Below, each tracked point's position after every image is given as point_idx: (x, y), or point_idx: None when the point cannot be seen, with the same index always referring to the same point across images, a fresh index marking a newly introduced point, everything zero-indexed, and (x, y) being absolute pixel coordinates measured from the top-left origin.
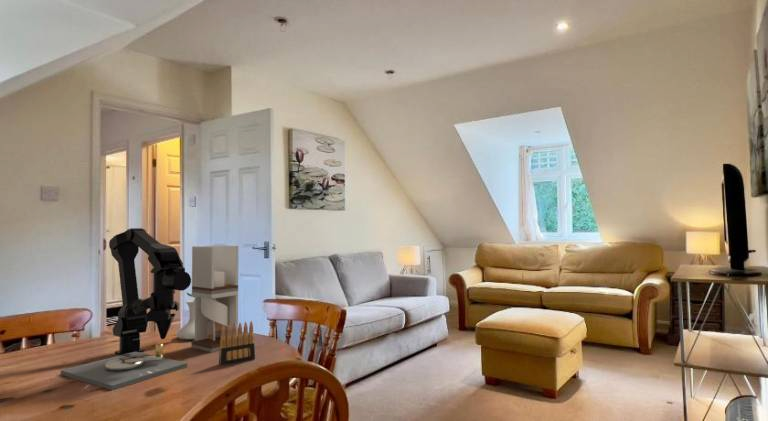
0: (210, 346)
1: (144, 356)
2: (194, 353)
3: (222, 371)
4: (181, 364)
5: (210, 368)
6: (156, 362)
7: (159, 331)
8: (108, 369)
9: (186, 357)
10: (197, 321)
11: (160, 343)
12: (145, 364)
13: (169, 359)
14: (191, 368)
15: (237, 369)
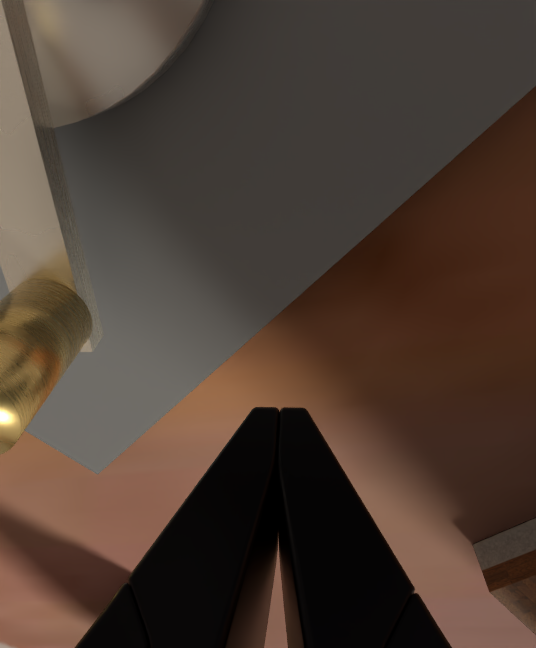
0: (500, 583)
1: (27, 131)
2: (509, 455)
3: (9, 596)
4: (57, 445)
5: (68, 554)
6: (139, 239)
7: (167, 535)
8: None
9: (399, 417)
10: None
11: (4, 424)
12: (69, 131)
13: (231, 340)
14: (74, 473)
15: (44, 638)
